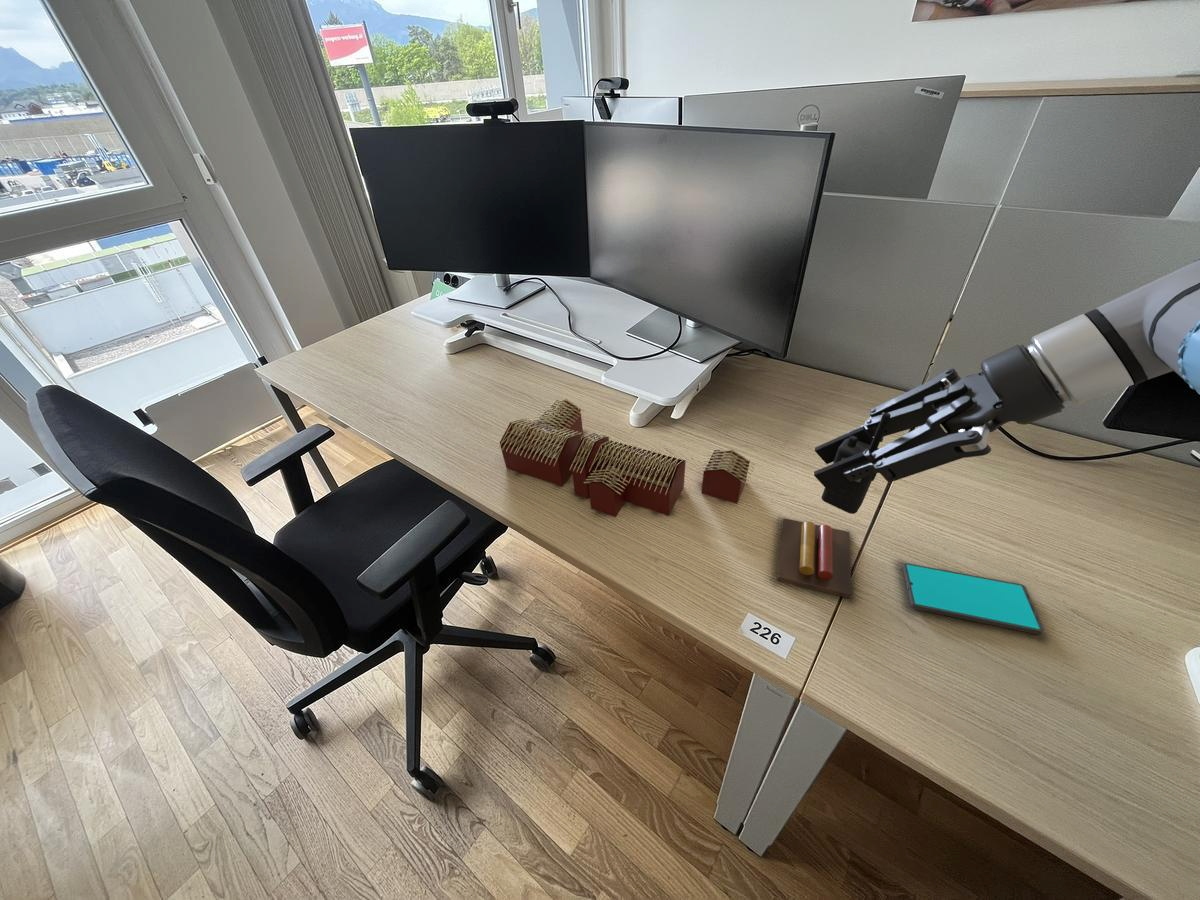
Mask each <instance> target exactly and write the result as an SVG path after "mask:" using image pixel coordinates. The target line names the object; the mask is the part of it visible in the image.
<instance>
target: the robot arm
mask: <svg viewBox="0 0 1200 900" xmlns="http://www.w3.org/2000/svg"><path fill="white" fill-rule="evenodd" d="M1030 342H1031V344H1029V345H1027V346H1025V345H1024V344H1020V345H1019V344H1015V345H1013V346H1011V347H1008V348H1007V349H1005V350H1002V351H1000V352H998V353H995V354H994V355H991V356H989V357H987V358H985V359H984V360H982V362H981V363H980V369H981V372H978V373H974V374H970V375H965V376H962V375H960V374H959V373H958V371H957V370H956V369H955V368H954V367H950V368H947V369H945V370H943V371H942V372H940V373H939V374H938V375H936V376H935V377H934V378H932V379H931V380H929V381H927V382H924V383H922V384H920V385H918V386H916V387H914V388H912V389H910V390H908V391H906V392H903V393H902V394H900V395H898V396H895V397H894V398H891V399H888V400H887V401H885V402H883V403H881V404H879V405H877V406H875V407H873V408H871V409H869V411H868V415H869V418H868V419H866V420H865V421H864V424H863V425H860V426H857V427H855V428H854V429H851V430H849V431H847V432H845V433H843V434H842V435H840V436H837V437H836V438H833V439H831V440H829V441H826V442H824V443H822V444H820V445H818V446H816V447H814V452H815V454H816V455H818V457H819V458H820V459H821V460H822V461H823V462H824V463H825V464H826V466H825V467H822V468H820V469H817V470H815V471H813V476H814V477H815V478H816V480H817V481H818V482H819V483H820V484H821V485H822V486H823V487H824V488H826V489H829V488H831V487H834V486H837V485H839V484H842V483H845V482H847V481H856V480H858V479H861V478H864V477H866V476H869V475H872V474H874V473H877V474H880V475H881V477H883V479H884V480H885V481H886V482H888V483H893V482H896V481H899V480H901V479H905V478H907V477H911V476H914V475H918V474H919V473H923V472H925V471H929V470H932V469H935V468H937V467H941V466H943V465H946V464H949V463H952V462H955V461H958V460H962V459H965V458H966V459H967V458H974V457H982V456H986V455H988V454H990V453H991V451H992V448H991V446H990V445H989V444H988V442H987V441H988V438H989V435H990V433H992V432H994V431H996V430H998V429H999V428H1000V427H1002V426H1003V425H1005V424H1007V423H1010V422H1014V423H1016V424H1018V425H1020V426H1021V425H1022V426H1026V425H1029V424H1031V423H1034V422H1037V421H1040V420H1042V419H1045V418H1048V417H1050V416H1051V417H1052V416H1053V415H1054V416H1055V415H1057V414H1059V413H1062V412H1063V410H1064V409H1065V408H1066V406H1065V403H1068V402H1070V401H1071V402H1072V404H1074V405H1077V406H1079V405H1082V404H1085V403H1088V402H1090V401H1094V400H1096V399H1098V398H1101V397H1104V396H1106V395H1109V394H1112V393H1115V392H1117V391H1118V392H1119V391H1120V390H1124V389H1125V388H1129V387H1131V386H1133V385H1139V384H1141V383H1144V382H1146V381H1149V380H1151V379H1154V378H1157V377H1159V376H1162V375H1165V374H1168V373H1172V372H1175V373H1176V374H1177V375H1178V376H1179V377H1180V378H1181V379H1183V381H1184V382H1185V383H1186V384H1188V386H1189V388H1190V389H1192V390H1194V391H1196V392H1197V394H1198V395H1200V258H1197V259H1195V260H1194V261H1192V262H1191V263H1189V264H1187V265H1184V266H1183V267H1181V268H1179V269H1176V270H1174V271H1172V272H1170V273H1168V274H1166V275H1163V276H1162V277H1160V278H1157V279H1155V280H1152V281H1151V282H1149V283H1147V284H1143V285H1142V286H1141V287H1138V288H1136V289H1134V290H1131V291H1129V292H1127V293H1125V294H1122V295H1121V296H1119V297H1116V298H1115V299H1112V300H1110V301H1108V302H1106V303H1104V304H1102V305H1100V306H1097V307H1096V308H1094V309H1092V310H1089V311H1087V312H1084V313H1082V314H1080V315H1078V316H1075V317H1073V318H1070V319H1069V320H1066V321H1064V322H1062V323H1059V324H1058V325H1056V326H1053V327H1051V328H1048V329H1047V330H1045V331H1042V332H1040V333H1038V334H1035V335H1033V336H1032V337H1031V339H1030ZM884 413H889V414H890V415H891V417H890V419H889V422H888V424H887V426H886V429H885V431H884V434H883V436H882V438H881V441H880V443H883V442H884V437H887V436H890V435H894V434H897V433H901V432H904V431H908V430H911V429H913V430H911V431H909V432H907V433H906V434H904V435H902V436H900V437H898V438H896V439H895V440H893V441H890V442H888V443H887V444H885V445H884V446H882V447H880V448H879V449H878V450H876V451H874V452H873V453H871V452H870V451H869V450H868V449H867V450H865V451H863V452H860V453H858V454H856V455H853V456H851V457H848V458H846V459H843V460H841V461H839V462H836V463H834V464H833V462H834V460H835V457H836V454H837V451H838V448H839V446H840V445H841V444H842V443H843V442H844V440H845V439H847V438H849V437H850V436H856V437H857V438H858V441H860V442H863V443H865V444H868V445H871V443H872V440H873V438H874V435H875V433H876V430H877V428H878V425H879V423H880V420H881V418H882V415H883V414H884Z"/></svg>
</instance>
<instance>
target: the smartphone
mask: <svg viewBox="0 0 1200 900" xmlns="http://www.w3.org/2000/svg"><path fill="white" fill-rule="evenodd" d="M902 571H903V575H904V576H903V577H904V581H905V585H906V590H907V595H908V599H909V605H910V607H911V608H912V609H914V610H919V611H923V612H928V613H933V614H939V615H943V616H948V617H953V618H958V619H961V620H966V621H967V620H968V621H972V622H976V623H981V624H985V625H992V626H996V627H1001V628H1005V629H1009V630H1010V629H1011V630H1015V631H1020V632H1025V633H1030V634H1035V635H1042V634H1043V633H1044V632H1045V628H1044V626H1043V623H1042V621H1041V619H1040V617H1039V614H1038V612H1037V610H1036V607H1035V605H1034V603H1033V600H1032V598H1031V597H1030V593H1029V591H1028V589H1027V586H1025V585H1024V584H1023V583H1022V584H1021V583H1016V582H1011V581H1005V580H1000V579H995V578H989V577H984V576H978V575H973V574H967V573H962V572H956V571H952V570H946V569H940V568H935V567H929V566H924V565H919V564H914V563H908V562H905V563H904V564H903V565H902Z"/></svg>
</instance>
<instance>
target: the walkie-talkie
mask: <svg viewBox="0 0 1200 900" xmlns="http://www.w3.org/2000/svg"><path fill="white" fill-rule="evenodd" d="M882 414H883V415H882V418H881V420H880V423H879V425H878V428H877V430H876V433H875V435H874V437H873V440H872V443H871V445H868V444H865V443H863V442H860V441H858V438H857V437H856V436H850V437H849V438H847V439H845V440H844V442H843V443H842V444H841V445H840V446H839V448H838V451H837V454H836V457H835V460H834V462H832V464H834V463H836V462H839V461H841V460H843V459H846V458H848V457H851V456H853V455H856V454H858V453H860V452H863V451H865V450H867V449H868V450H869V451H870V452H871V453H873V452H874V451H876V450H878V449H880V448H879V446H880V443H881V442H880V441H881V438H882V436H883V434H884V431H885V429H886V426H887V424H888V422H889V419H890V417H891V415H890V414H889V413H884V412H883V413H882ZM877 474H878V473H874V474H872V475H869V476H866V477H864V478H861V479H858V480H856V481H847V482H845V483H842V484H839V485H837V486H834V487H831V488H829V489H826V488H825V487H824V488H823V492H822V494H821V497H820V499H821V500H822V501H823V502H824V503H826V504H828V505H830V506H833V507H834V508H837V509H839V510H841V511H842V512H845V513H848V514H850V515H854V514H856V513H857V512H858V511H859V510H860V508H861V506H862V505H863V503H864V500H865V498H866V496H867V493H868V491H869V489H870V486H871V484H872V482H874V481H875V479H876V477H877Z"/></svg>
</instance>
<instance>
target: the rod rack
mask: <svg viewBox="0 0 1200 900" xmlns="http://www.w3.org/2000/svg"><path fill="white" fill-rule="evenodd" d="M851 562H852V561H851V541H850V531H848V530H847V531H846V530H843V529H838V528H833V527H832V526H830V525H828V524H821V525H818V524H815V523H814V522H813V521H804V522H803V521H799V520H794V519H789V518H784V517H782V520H781V528H780V539H779V552H778V561H777V571H776V581H778V582H780V583H781V582H782V583H786V584H789V585H793V586H797V587H798V586H799V587H802V588H806V589H808V590H809V589H810V590H813V591H817V592H821V593H825V594H829V595H833V596H837V597H842V598H846V599H850V600H851V598H852V596H853V589H852V586H853V585H852V567H851V566H852V564H851Z"/></svg>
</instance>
